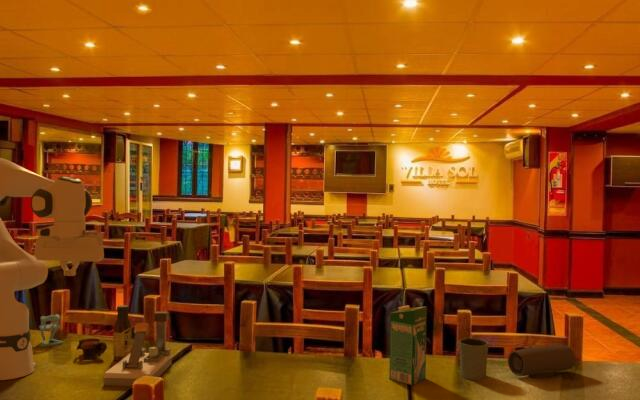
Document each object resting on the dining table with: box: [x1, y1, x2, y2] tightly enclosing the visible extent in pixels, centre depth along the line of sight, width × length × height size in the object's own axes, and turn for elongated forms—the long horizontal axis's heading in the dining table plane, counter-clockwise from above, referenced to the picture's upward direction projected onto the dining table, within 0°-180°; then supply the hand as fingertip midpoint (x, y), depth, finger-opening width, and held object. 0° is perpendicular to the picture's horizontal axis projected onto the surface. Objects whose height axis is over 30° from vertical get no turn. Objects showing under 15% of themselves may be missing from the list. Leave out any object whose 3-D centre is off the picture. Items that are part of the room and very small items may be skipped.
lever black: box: [153, 310, 170, 355], centre depth 193 cm, size 4×2×15 cm, turn 87°
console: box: [103, 347, 173, 387], centre depth 185 cm, size 15×22×6 cm
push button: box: [148, 346, 158, 358], centre depth 188 cm, size 3×3×3 cm
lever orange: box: [126, 322, 151, 369], centre depth 183 cm, size 4×2×15 cm
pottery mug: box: [76, 337, 108, 362], centre depth 203 cm, size 12×10×8 cm
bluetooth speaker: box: [507, 344, 576, 379], centre depth 190 cm, size 23×9×10 cm, turn 111°
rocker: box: [130, 347, 147, 355], centre depth 194 cm, size 4×3×2 cm
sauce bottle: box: [112, 304, 132, 362], centre depth 201 cm, size 7×6×20 cm
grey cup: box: [458, 337, 490, 381], centre depth 188 cm, size 10×10×12 cm
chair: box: [38, 313, 63, 348], centre depth 220 cm, size 8×8×12 cm
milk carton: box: [388, 305, 428, 386], centre depth 184 cm, size 9×9×25 cm
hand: (69, 275), depth 165 cm, fingers closed
